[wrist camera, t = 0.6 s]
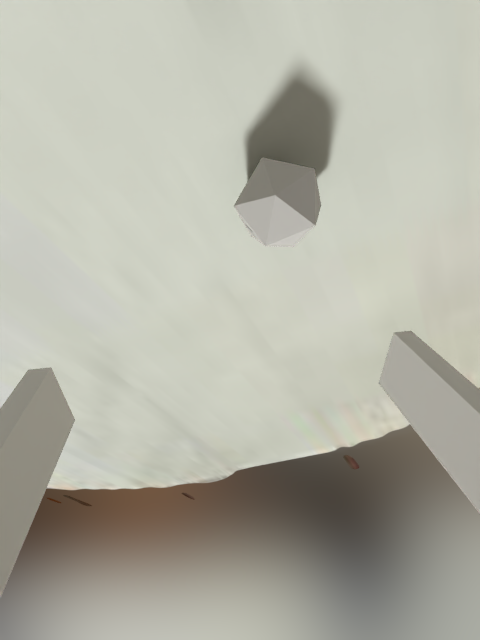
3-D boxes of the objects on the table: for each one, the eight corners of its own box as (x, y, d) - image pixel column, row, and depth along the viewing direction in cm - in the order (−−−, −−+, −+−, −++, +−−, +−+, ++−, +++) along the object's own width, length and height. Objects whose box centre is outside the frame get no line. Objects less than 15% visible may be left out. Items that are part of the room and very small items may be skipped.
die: (242, 137, 30) (211, 218, 28) (329, 129, 26) (300, 222, 24) (265, 194, 37) (241, 262, 35) (335, 194, 33) (314, 270, 31)
